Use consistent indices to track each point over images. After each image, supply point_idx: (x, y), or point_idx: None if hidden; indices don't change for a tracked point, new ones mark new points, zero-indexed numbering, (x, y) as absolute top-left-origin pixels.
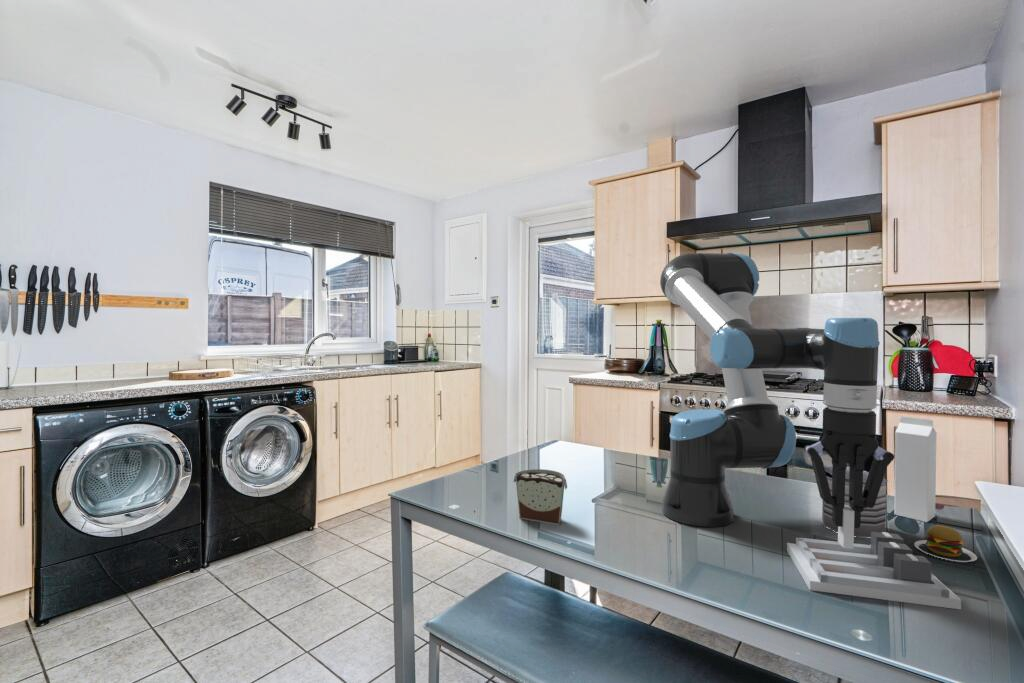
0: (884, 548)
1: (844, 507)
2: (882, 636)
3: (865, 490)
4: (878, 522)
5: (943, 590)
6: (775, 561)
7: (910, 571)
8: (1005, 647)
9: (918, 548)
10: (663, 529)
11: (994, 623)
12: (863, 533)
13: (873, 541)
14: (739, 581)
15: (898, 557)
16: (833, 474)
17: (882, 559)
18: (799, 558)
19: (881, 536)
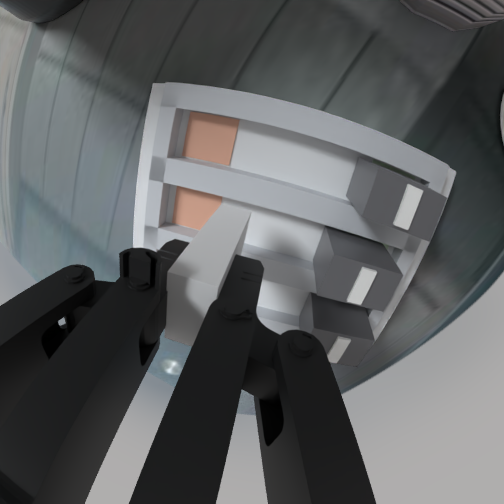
0: (318, 294)
1: (178, 312)
2: None
3: (288, 415)
4: (481, 21)
5: None
6: (116, 154)
7: None
8: None
9: (501, 111)
10: (8, 62)
11: (376, 360)
12: (432, 15)
13: (363, 185)
14: (56, 243)
15: None
16: (25, 424)
17: (316, 267)
18: (143, 181)
19: (382, 213)
